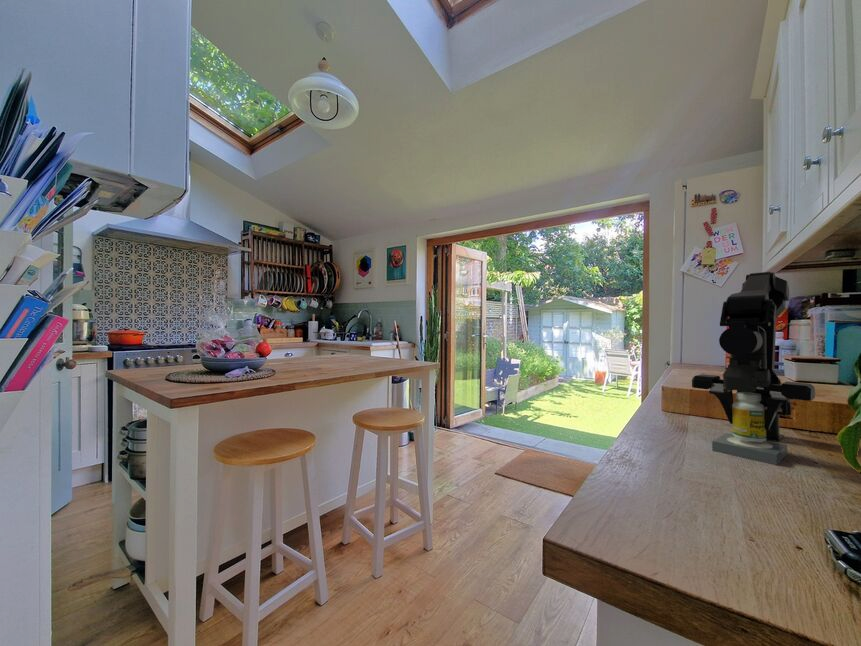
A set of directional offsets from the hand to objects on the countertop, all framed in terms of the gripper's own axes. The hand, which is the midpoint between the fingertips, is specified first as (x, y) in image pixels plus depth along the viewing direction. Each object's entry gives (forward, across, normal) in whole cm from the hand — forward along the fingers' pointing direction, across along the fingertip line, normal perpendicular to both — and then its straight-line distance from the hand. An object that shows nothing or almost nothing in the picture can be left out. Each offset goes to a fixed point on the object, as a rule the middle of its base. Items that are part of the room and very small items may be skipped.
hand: (748, 426), depth 74 cm
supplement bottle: (+3, 0, 0) cm, 3 cm away
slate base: (+5, 0, 0) cm, 5 cm away
